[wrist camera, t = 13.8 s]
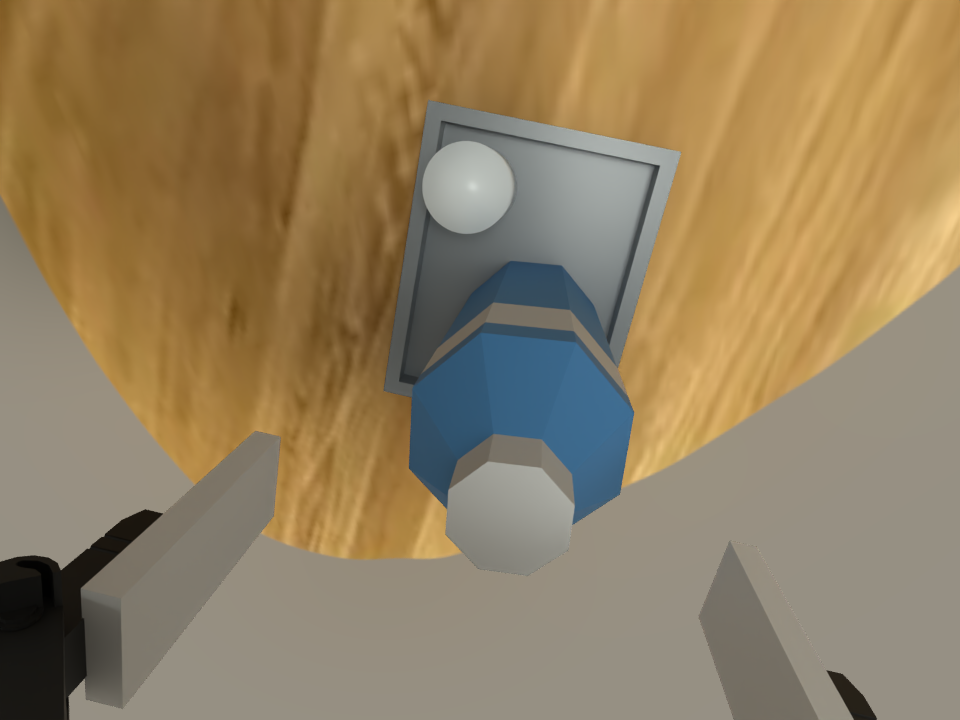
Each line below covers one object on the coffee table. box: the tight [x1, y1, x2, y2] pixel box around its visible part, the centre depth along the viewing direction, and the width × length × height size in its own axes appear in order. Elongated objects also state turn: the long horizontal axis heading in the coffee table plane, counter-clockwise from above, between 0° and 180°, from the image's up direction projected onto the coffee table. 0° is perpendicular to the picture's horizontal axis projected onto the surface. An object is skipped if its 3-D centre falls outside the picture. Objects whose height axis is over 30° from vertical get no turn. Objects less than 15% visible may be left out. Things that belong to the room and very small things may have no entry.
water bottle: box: [409, 261, 634, 576], centre depth 29 cm, size 9×9×25 cm
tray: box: [384, 100, 681, 397], centre depth 40 cm, size 16×20×2 cm
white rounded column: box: [422, 141, 517, 234], centre depth 35 cm, size 5×5×7 cm
